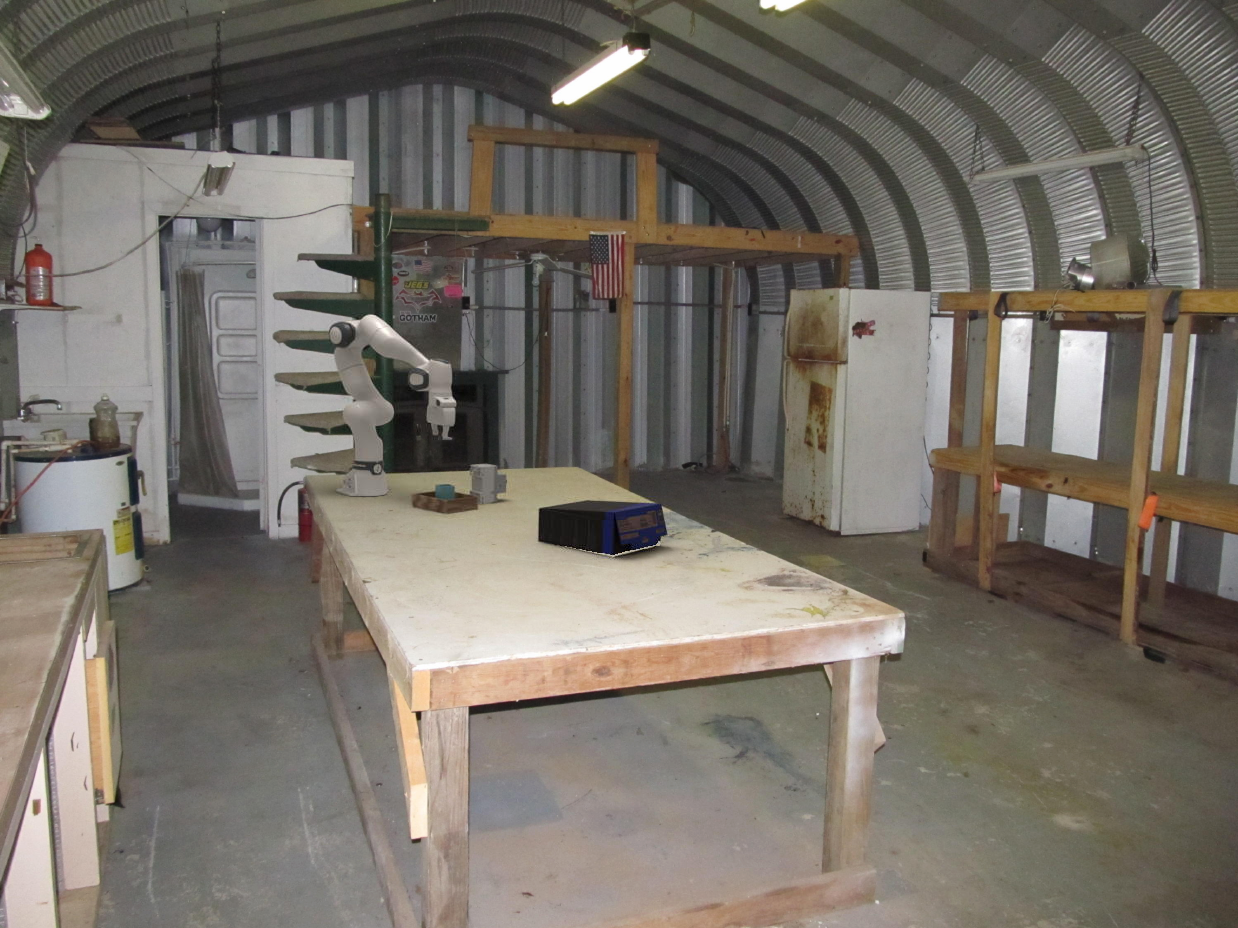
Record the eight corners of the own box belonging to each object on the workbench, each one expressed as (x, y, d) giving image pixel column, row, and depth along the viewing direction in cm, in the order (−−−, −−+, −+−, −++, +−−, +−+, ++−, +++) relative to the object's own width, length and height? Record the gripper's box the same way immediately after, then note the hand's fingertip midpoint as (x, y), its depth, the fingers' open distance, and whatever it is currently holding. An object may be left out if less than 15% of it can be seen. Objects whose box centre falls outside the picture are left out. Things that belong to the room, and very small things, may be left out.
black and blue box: (620, 559, 285) (621, 513, 284) (537, 541, 307) (538, 498, 305) (668, 547, 304) (669, 504, 303) (586, 531, 326) (588, 491, 324)
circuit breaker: (509, 501, 382) (509, 464, 380) (480, 504, 372) (480, 467, 370) (498, 498, 387) (499, 462, 385) (469, 501, 378) (470, 464, 376)
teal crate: (435, 505, 363) (435, 484, 362) (448, 504, 366) (448, 483, 365) (440, 507, 358) (441, 486, 357) (454, 506, 361) (454, 486, 360)
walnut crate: (412, 506, 362) (412, 493, 362) (444, 502, 375) (444, 489, 374) (445, 513, 350) (445, 500, 349) (478, 508, 362) (478, 496, 361)
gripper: (422, 399, 371) (422, 433, 372) (442, 402, 354) (442, 438, 355) (437, 398, 374) (437, 433, 376) (458, 402, 357) (457, 438, 359)
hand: (440, 436), depth 366 cm, fingers open, 8 cm apart
